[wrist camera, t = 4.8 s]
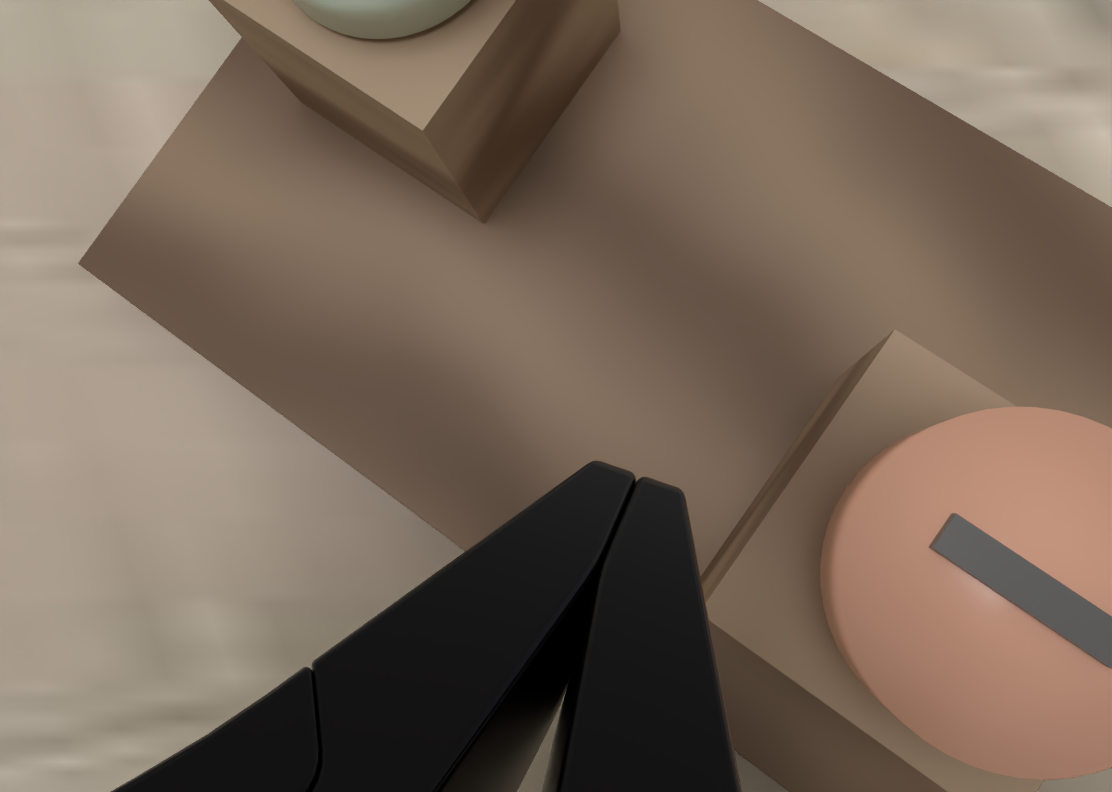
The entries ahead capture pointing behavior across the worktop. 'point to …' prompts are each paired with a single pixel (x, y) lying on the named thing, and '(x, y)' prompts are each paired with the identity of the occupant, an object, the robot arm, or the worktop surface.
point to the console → (626, 294)
